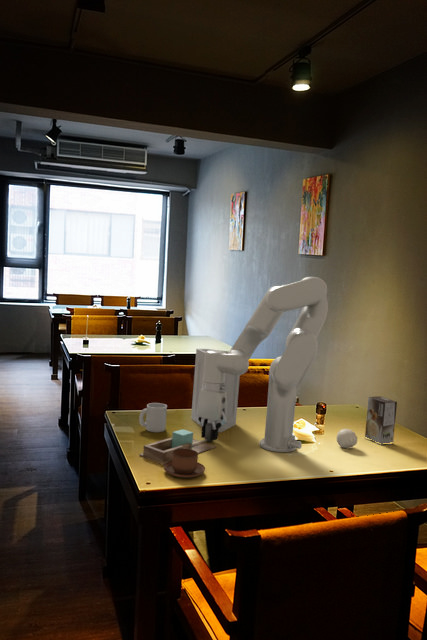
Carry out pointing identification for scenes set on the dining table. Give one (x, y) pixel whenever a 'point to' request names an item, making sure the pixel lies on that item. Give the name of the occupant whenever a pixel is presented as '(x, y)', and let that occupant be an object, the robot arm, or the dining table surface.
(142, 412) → the cup
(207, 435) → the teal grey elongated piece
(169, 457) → the lane
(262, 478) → the dining table surface
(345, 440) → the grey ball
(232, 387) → the tall white carton
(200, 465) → the cup and saucer
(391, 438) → the coffee box
